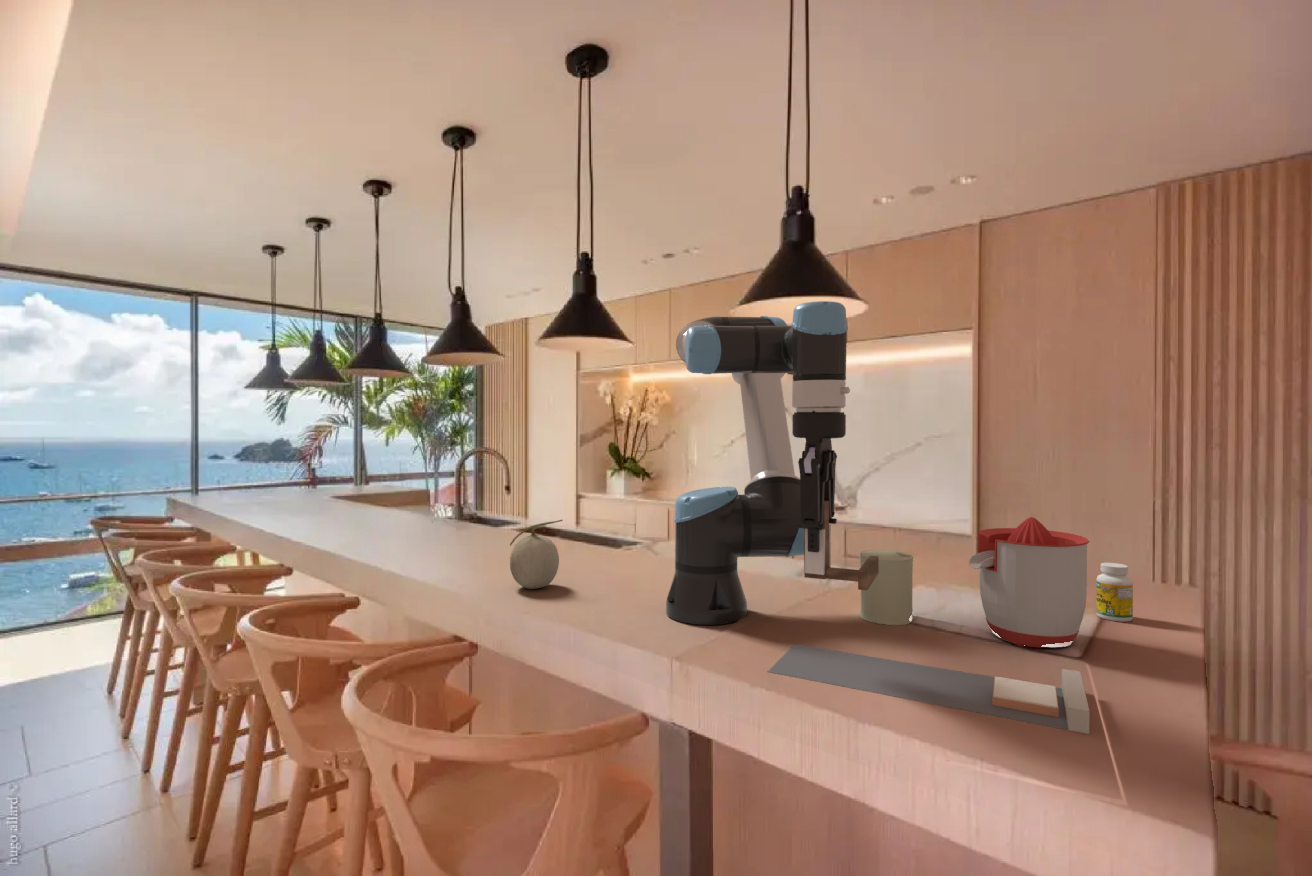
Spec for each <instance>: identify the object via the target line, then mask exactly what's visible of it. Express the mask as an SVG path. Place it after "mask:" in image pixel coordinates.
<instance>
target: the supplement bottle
mask: <svg viewBox="0 0 1312 876" xmlns="http://www.w3.org/2000/svg"><path fill="white" fill-rule="evenodd" d="M1100 571H1101V572H1102V573H1101V574H1098V575H1097V577H1096V580H1095V581H1096V584H1095V585H1096V594H1095V596H1096V597H1095V598H1096V600H1095V602H1096V603H1095V604H1096V607H1095V609H1096V610H1095V611H1096V615H1097V616H1098V618H1100V619H1104V620H1108V621H1111V622H1113V621H1114V622H1119V623H1120V622H1124V623H1128V622H1131V621H1132V620H1133V619H1134V617H1133V616H1134V615H1133V614H1134V585H1133V583H1134V582H1133V580H1132V579H1131V577H1129V576H1127V575H1128V574H1129V566H1128V565H1126V564H1124V563H1117V562H1115V563H1114V562H1101V563H1100Z"/></svg>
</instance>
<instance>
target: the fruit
mask: <svg viewBox="0 0 1312 876" xmlns="http://www.w3.org/2000/svg"><path fill="white" fill-rule="evenodd" d="M558 522H563V519H559V520H554V521H548V522H547V521H546V522H540V523H538V524H534V525H531V526H529V527H527V528H525V529H523V530H522V531H520V532H519V533H518V534H517V535H515V536H514V537H513V539H512V540H511V542H510V543H509V546H510V547H511V546H512V545H513V543H514V542H515V541H516V540H517V539H518V538H519V537H520V536H521V535H523V534H524V533H526V532H527V531H529V530H530V533H531V534H529V535H527V536H524V537H522V538H521V539H519V540H518V541H517V542H516V544H514V546H513V548H512V550H511V551H510V552H511V553H510V557H509V568H510V569H509V570H510V573H511V575H512V578H513V579H514V581H515V582H516V583H517V584H518V585H520V586H521V587H524V588H526V589H528V590H530V589H531V590H536V589H542V588H545V587H546V586H548V585H550V584H551V583H552V582H553V581H554V578H555V577H556V576H557V573H558V570H559V566H560V556H559V555H560V554H559V552H558V548H557V546H556V545H555V543H554V542H553V540H552V539H550V538H549V537H547V536H544V535H542V534H536V529H537V528H540V527H542V526H546V525H550V524H554V523H558Z"/></svg>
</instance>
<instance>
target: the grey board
mask: <svg viewBox="0 0 1312 876" xmlns="http://www.w3.org/2000/svg"><path fill="white" fill-rule="evenodd" d="M767 673H769V674H770V673H772V674H776V675H780V676H787V677H791V678H797V679H802V680H807V681H812V682H818V683H822V684H827V685H833V686H837V687H838V686H839V687H842V688H848V689H851V690H852V689H854V690H857V691H863V692H869V693H873V694H874V693H875V694H880V695H884V696H889V697H893V698H899V699H905V700H910V701H915V702H921V703H926V704H929V705H936V706H941V707H945V708H951V709H957V710H961V711H966V712H967V711H968V712H970V713H971V712H972V713H976V714H982V715H988V716H993V717H997V718H1004V719H1007V720H1012V721H1013V720H1014V721H1020V722H1024V723H1027V724H1028V723H1029V724H1032V725H1033V724H1035V725H1038V726H1039V725H1040V726H1044V727H1050V728H1055V729H1059V730H1060V729H1061V730H1065V731H1071V732H1075V733H1081V734H1084V735H1085V734H1086V735H1090V708H1089V704H1088V699H1087V695H1086V690H1085V687H1084V682H1083V678H1082V675H1081V671H1079V670H1073V669H1072V670H1071V669H1066V668H1062V669H1061V687H1058V686H1055V688H1056V692H1057V699H1058V707H1059V717H1054V716H1049V715H1044V714H1038V713H1033V712H1028V711H1022V710H1017V709H1012V708H1006V707H1001V706H996V705H992V696H993V687H994V677H995V676H989V675H984V674H977V673H972V672H964V671H960V670H955V669H948V668H942V667H936V666H931V665H924V664H918V663H912V662H907V661H901V660H894V659H888V658H883V657H876V656H870V655H864V654H859V653H853V652H852V653H851V652H848V651H847V652H846V651H840V650H834V649H828V648H822V647H815V646H811V645H804V644H798V643H794V644H793V645H792V646H791V647H790V649H788V650H787V651H786V652H785V653H784V654H783V655H782V656H781V657H780V658H779V659H778V660H777V661H776V662H775V663H774V664H773V665H772V666H771V667H770V668H769V670H767Z"/></svg>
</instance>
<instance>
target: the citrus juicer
mask: <svg viewBox="0 0 1312 876" xmlns="http://www.w3.org/2000/svg"><path fill="white" fill-rule="evenodd" d="M1089 543H1090V540H1089V539H1088V538H1087V537H1084V536H1082V535H1079V534H1074V533H1068V532H1063V531H1056V530H1049V529H1047V528H1046V527H1045V525H1043V523H1042V522H1040V521H1039V520H1038V519H1036V518H1035V517H1033V516H1030V517H1028V518H1025V520H1023V521H1022V522H1021V523H1019V525H1018V526H1017V527H1002V528H1001V527H998V528H986V529H982V530H980V531H978V534H977V553H976V554H973V555H971V556H970V557H969V561H968V566H969V567H971V568H972V569H974V570H976V569H977V570H979V588H980V589H979V590H980V600H981V603H982V608H983V612H984V614H985V615H984V616H985V621H986V623H987V626H988V625H989V626H988V628H989V627H990V628H991V629H992V630H993V631H994V632H995V633H997V634H998V635H999V636H1000V637H1001V638H1002V639H1001V640H1002V641H1003V640H1004V641H1005V642H1009V643H1011V644H1014V643H1015V644H1014V645H1015V646H1018V647H1019V648H1020V647H1021V648H1022V647H1023V648H1027V647H1026V646H1029V647H1031V648H1039V649H1040V648H1041V646H1042V645H1046V644H1055V643H1064V642H1070V641H1074V642H1075V640H1076V638H1077V636H1078V634H1079V632H1080V628H1081V624H1082V622H1083V619H1084V616H1085V615H1084V614H1085V610H1086V605H1087V596H1088V595H1087V592H1088V591H1087V587H1088V583H1087V582H1088V581H1087V580H1088V579H1087V578H1088V577H1087V576H1088V572H1087V571H1088V544H1089ZM990 628H989V629H990ZM1024 645H1025V646H1024Z"/></svg>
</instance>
